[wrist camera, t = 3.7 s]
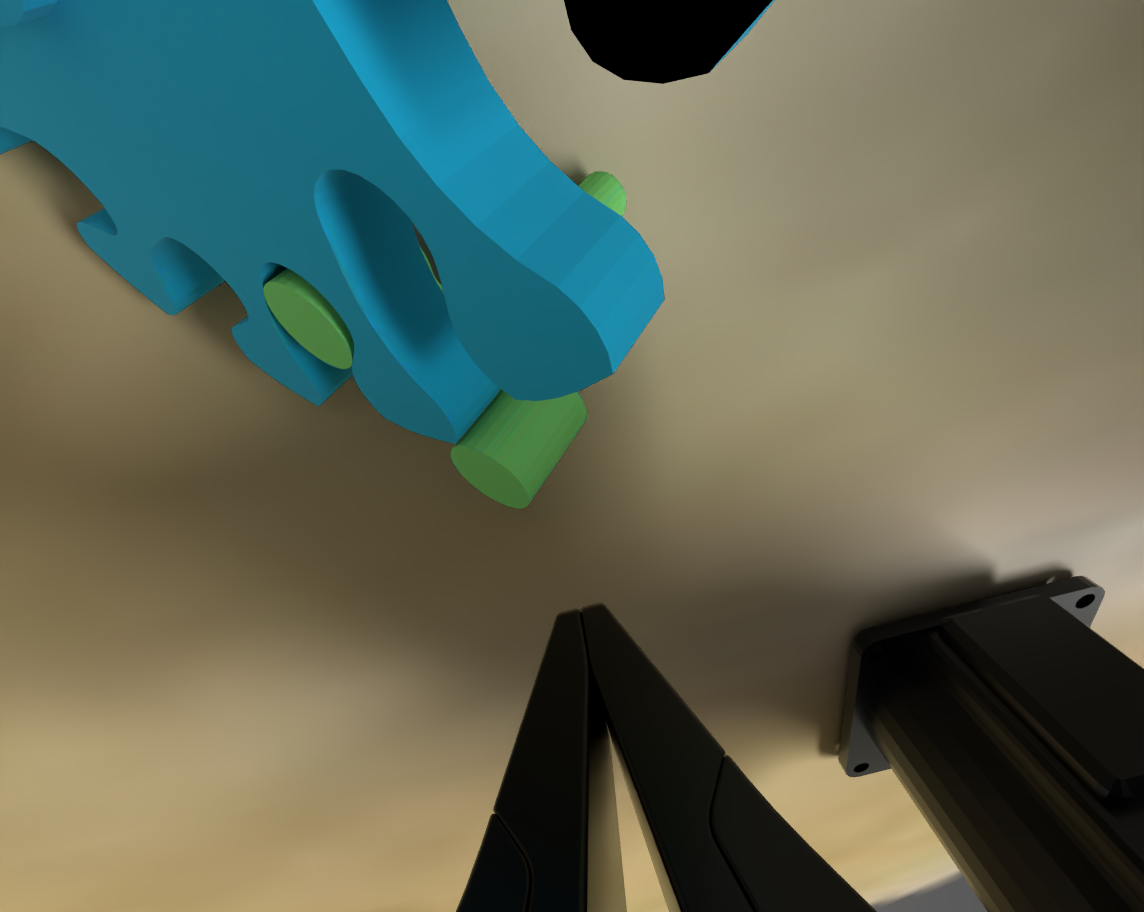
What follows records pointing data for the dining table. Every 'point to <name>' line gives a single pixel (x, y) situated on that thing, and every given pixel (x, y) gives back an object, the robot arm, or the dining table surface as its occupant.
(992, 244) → the dining table surface
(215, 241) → the gear
